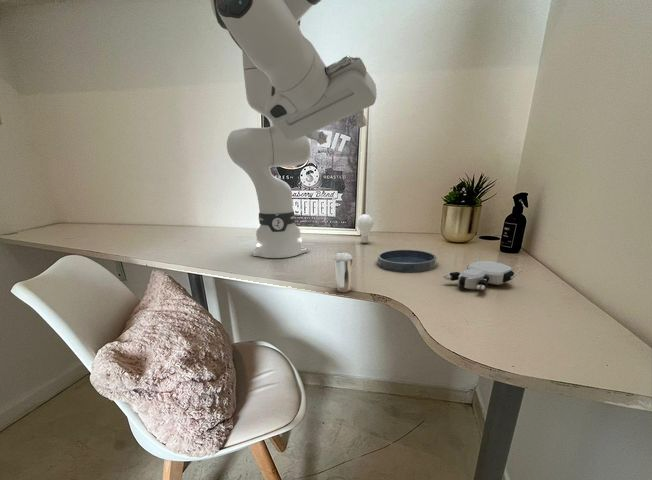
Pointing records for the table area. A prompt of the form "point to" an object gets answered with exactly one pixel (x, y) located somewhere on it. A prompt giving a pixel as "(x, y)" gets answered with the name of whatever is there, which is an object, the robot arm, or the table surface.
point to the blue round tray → (407, 260)
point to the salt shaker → (343, 271)
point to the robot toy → (482, 275)
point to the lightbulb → (364, 226)
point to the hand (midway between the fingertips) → (342, 132)
